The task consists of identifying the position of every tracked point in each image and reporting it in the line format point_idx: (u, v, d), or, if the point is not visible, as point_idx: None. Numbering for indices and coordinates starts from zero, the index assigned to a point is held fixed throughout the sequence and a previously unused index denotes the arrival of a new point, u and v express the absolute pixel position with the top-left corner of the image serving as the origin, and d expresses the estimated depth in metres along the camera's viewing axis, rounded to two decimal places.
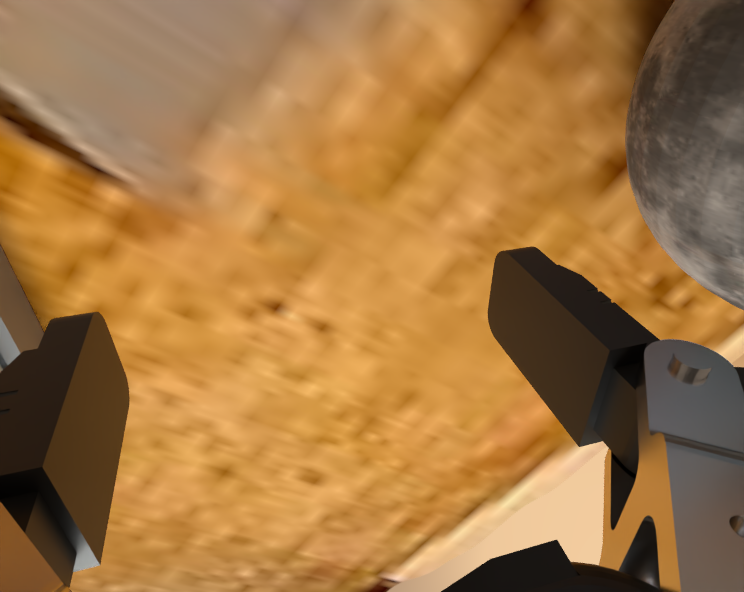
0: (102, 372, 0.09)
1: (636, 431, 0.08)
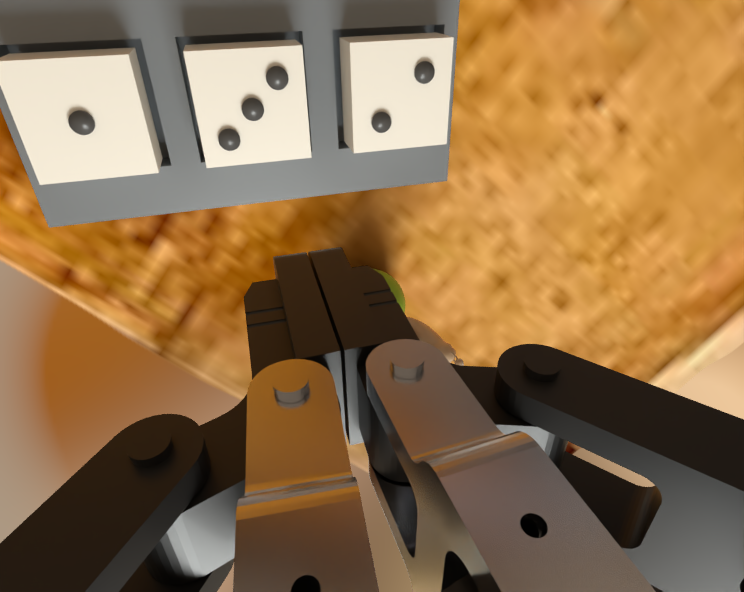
0: None
1: (369, 429, 0.08)
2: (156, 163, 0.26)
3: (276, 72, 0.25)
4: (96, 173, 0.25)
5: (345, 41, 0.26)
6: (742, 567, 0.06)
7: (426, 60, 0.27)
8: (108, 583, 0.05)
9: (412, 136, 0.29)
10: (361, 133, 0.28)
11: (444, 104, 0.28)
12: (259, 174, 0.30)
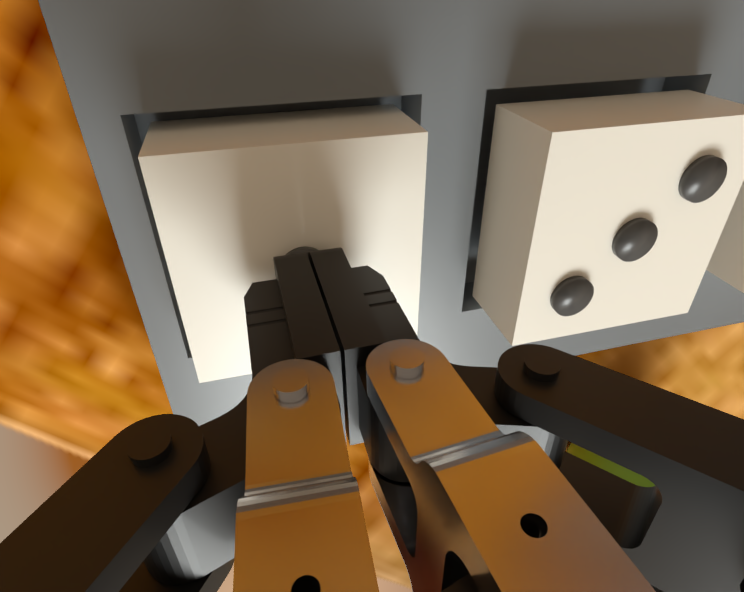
0: None
1: (369, 429, 0.08)
2: (415, 327, 0.13)
3: (709, 169, 0.12)
4: None
5: None
6: (742, 566, 0.06)
7: None
8: (108, 583, 0.05)
9: None
10: None
11: None
12: None
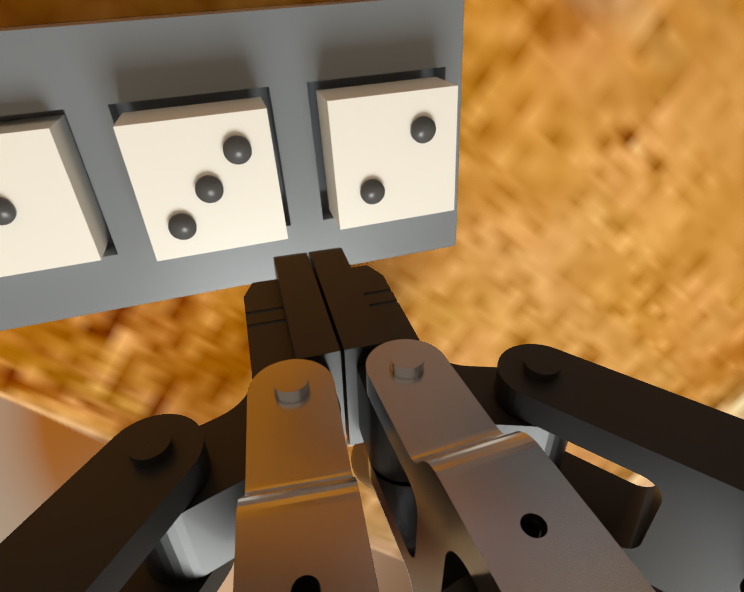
0: None
1: (369, 429, 0.08)
2: (97, 249, 0.22)
3: (235, 143, 0.20)
4: (24, 266, 0.21)
5: (322, 97, 0.21)
6: (742, 567, 0.06)
7: (425, 115, 0.21)
8: (108, 583, 0.05)
9: (411, 204, 0.23)
10: (348, 206, 0.22)
11: (449, 165, 0.23)
12: (227, 255, 0.25)
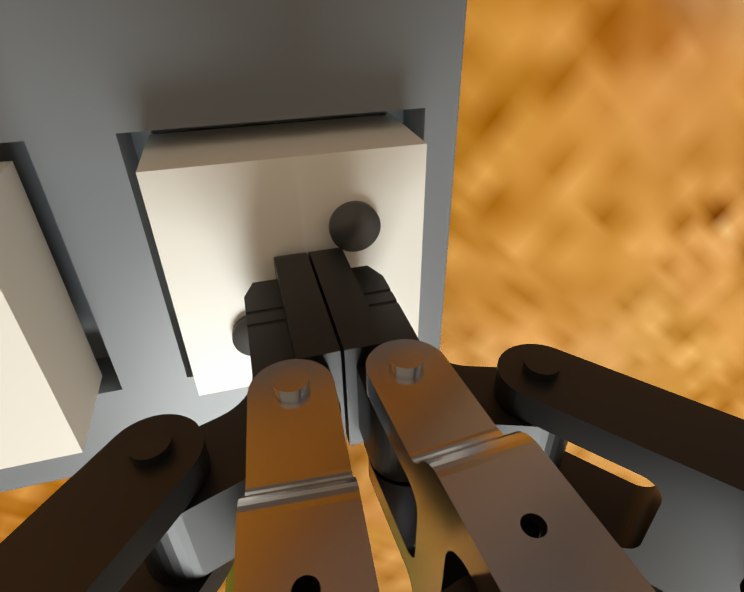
0: None
1: (369, 429, 0.08)
2: None
3: None
4: None
5: (142, 157, 0.10)
6: (742, 567, 0.06)
7: (359, 200, 0.11)
8: (108, 583, 0.05)
9: None
10: (211, 358, 0.12)
11: (409, 285, 0.12)
12: None
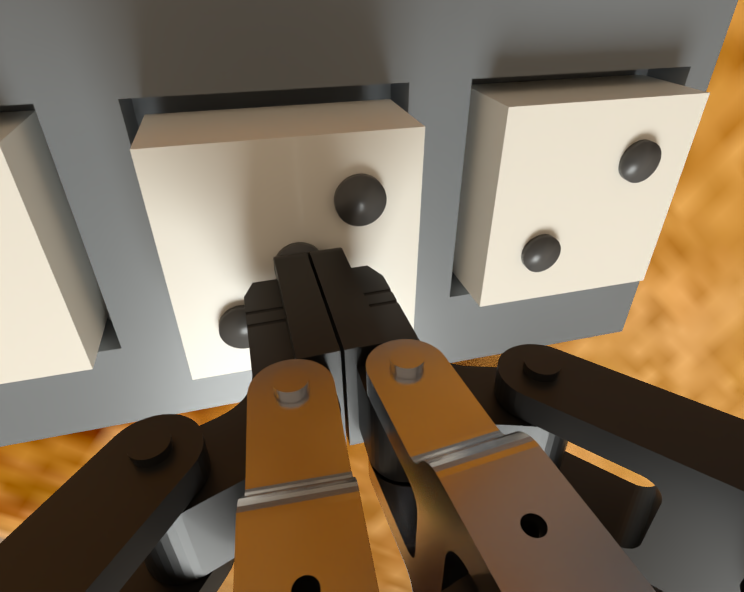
0: None
1: (369, 430, 0.08)
2: (86, 351, 0.12)
3: (359, 189, 0.10)
4: None
5: (489, 99, 0.12)
6: (742, 567, 0.06)
7: (648, 139, 0.13)
8: (108, 583, 0.05)
9: (588, 271, 0.15)
10: (499, 273, 0.14)
11: (657, 216, 0.15)
12: None
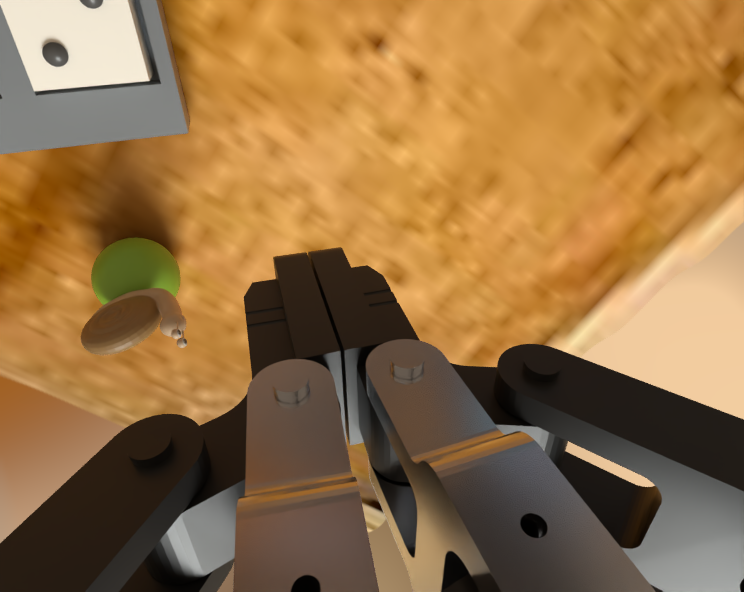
0: None
1: (369, 430, 0.08)
2: None
3: None
4: None
5: None
6: (742, 567, 0.06)
7: None
8: (108, 583, 0.05)
9: (102, 71, 0.26)
10: (35, 67, 0.25)
11: (130, 34, 0.25)
12: None
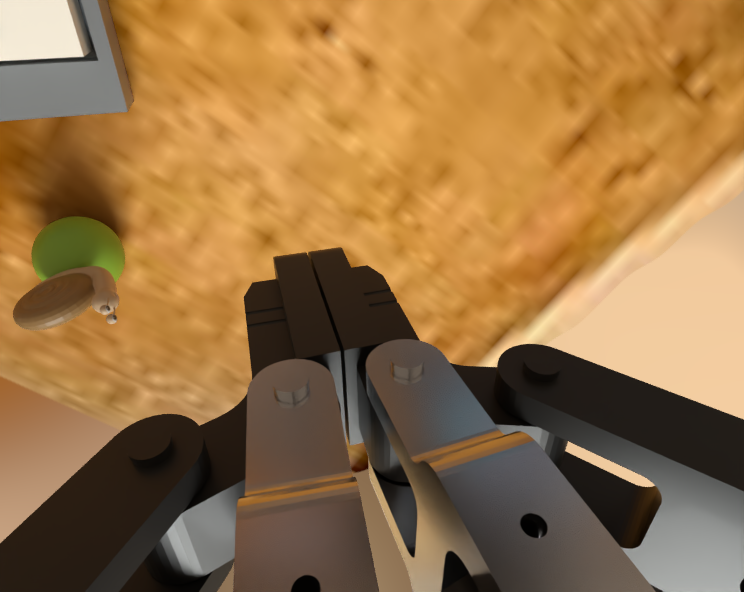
0: None
1: (369, 430, 0.08)
2: None
3: None
4: None
5: None
6: (742, 567, 0.06)
7: None
8: (108, 583, 0.05)
9: (34, 45, 0.26)
10: None
11: (62, 8, 0.25)
12: None
